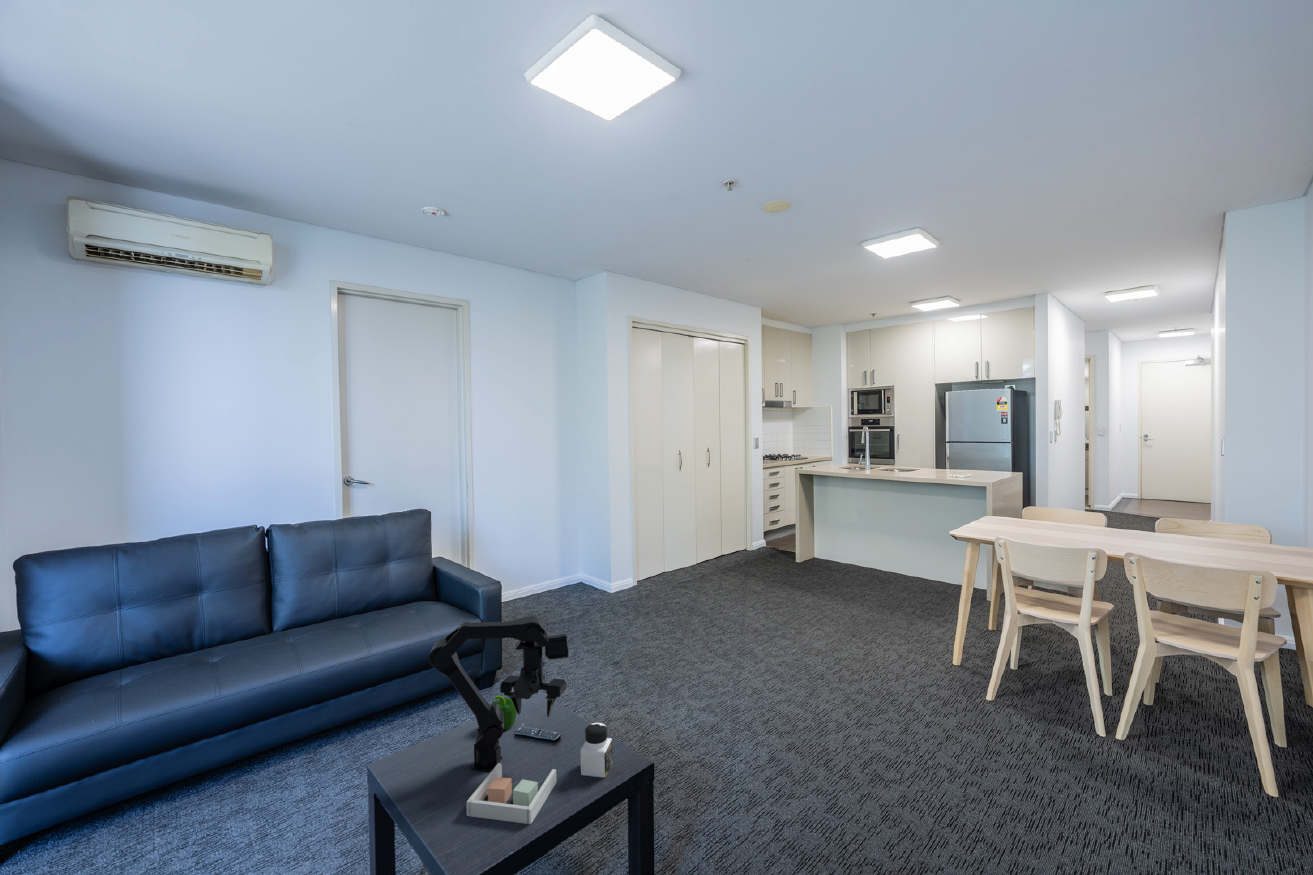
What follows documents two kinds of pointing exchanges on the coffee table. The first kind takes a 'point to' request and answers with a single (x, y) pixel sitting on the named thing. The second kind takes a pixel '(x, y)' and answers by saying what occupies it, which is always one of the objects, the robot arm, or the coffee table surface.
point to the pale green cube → (525, 792)
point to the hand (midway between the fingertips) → (533, 714)
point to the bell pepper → (507, 710)
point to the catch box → (507, 811)
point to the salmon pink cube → (500, 790)
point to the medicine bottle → (596, 751)
